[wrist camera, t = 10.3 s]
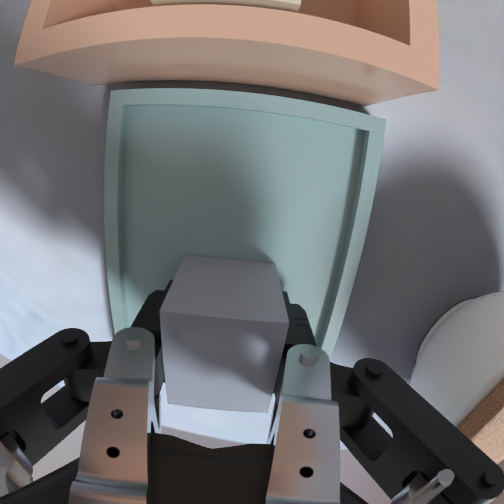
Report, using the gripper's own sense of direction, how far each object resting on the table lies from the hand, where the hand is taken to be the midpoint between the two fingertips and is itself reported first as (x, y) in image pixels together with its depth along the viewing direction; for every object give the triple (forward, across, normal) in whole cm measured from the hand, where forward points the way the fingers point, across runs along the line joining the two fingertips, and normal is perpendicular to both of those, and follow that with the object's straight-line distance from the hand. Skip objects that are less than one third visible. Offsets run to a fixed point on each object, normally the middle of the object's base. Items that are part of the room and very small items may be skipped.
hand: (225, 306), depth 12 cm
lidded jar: (+1, -14, +2) cm, 14 cm away
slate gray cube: (0, 0, 0) cm, 0 cm away
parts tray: (+1, 0, -2) cm, 2 cm away
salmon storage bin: (+1, +1, -14) cm, 14 cm away
